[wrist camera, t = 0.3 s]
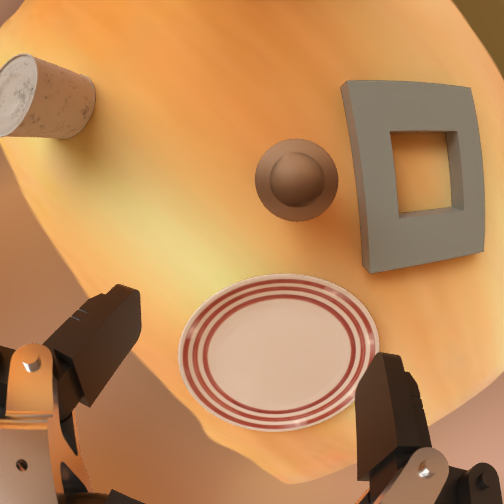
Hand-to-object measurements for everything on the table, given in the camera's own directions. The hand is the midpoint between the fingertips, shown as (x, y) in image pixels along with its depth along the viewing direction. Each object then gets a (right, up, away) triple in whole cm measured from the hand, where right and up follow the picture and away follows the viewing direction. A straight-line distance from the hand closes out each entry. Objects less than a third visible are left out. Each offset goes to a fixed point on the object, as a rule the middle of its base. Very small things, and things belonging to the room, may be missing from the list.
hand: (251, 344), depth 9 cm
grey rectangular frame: (+21, +13, +23) cm, 34 cm away
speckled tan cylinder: (-25, +23, +23) cm, 41 cm away
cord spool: (+4, +12, +24) cm, 27 cm away
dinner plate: (+4, -12, +31) cm, 34 cm away
